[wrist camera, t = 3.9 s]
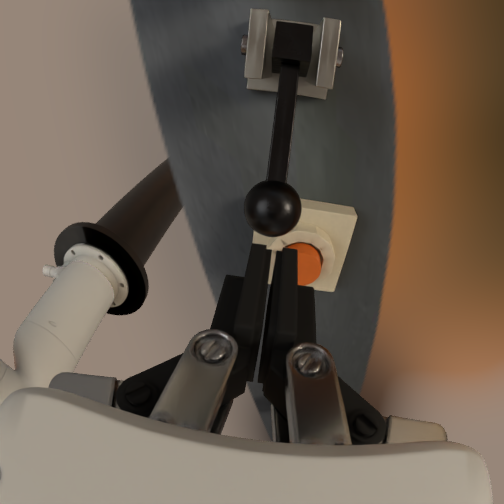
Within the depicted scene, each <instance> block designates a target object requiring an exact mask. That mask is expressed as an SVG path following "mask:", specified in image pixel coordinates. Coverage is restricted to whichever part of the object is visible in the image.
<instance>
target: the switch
mask: <svg viewBox="0 0 504 504" xmlns="http://www.w3.org/2000/svg"><path fill="white" fill-rule="evenodd" d="M313 29H314V26H312V25H305V24H299V23H291V22H282V21H277V22H276V27H275V35H274V42H273V49H272V73H277V74H280V76H279V84H278V92H277V99H276V107H275V115H274V123H273V131H272V139H271V147H270V155H269V162H268V170H267V178H266V180H265V181H262V182H260V183H258V184H256V185H255V186H254V187H253V188H252V189H251V190H250V191H249V193H248V194H247V196H246V199H245V202H244V214H245V218H246V220H247V222H248V224H249V225H250V227H251V228H252V229H253V230H254V231H256V232H257V233H259V234H261V235H263V236H267V237H279V236H283V235H285V234H287V233H289V232H290V231H291V230H293V229H294V228H295V226H296V225H297V224H298V222H299V220H300V217H301V213H302V205H301V200H300V197H299V195H298V193H297V192H296V191H295V189H294V188H293V187H292V186H290V185H289V184H287V175H288V167H289V159H290V151H291V143H292V134H293V126H294V117H295V108H296V99H297V90H298V81H299V76H300V77H307V74H308V70H309V67H310V63H311V55H312V42H313Z"/></svg>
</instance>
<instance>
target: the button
mask: <svg viewBox="0 0 504 504" xmlns="http://www.w3.org/2000/svg"><path fill="white" fill-rule="evenodd" d="M287 248H291V249H297V250H298V285H302V286H305V285H308V284H311V283H313V282H314V281H315V280H316V279H317V278H318V277H319V275H320V273H321V263H320V256H319V253H318V251H317V250H316V249H315V248H314V247H312V246H311V245H309V244H305V243H296V244H292V245H290V246H288V247H287Z"/></svg>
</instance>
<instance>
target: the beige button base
mask: <svg viewBox="0 0 504 504" xmlns="http://www.w3.org/2000/svg"><path fill="white" fill-rule="evenodd" d="M300 200H301V205H302V213H301V217H300V220H299V222H298V224H297V225H296V226H295V228H294V229H293V230H291V231H290V232H289V233H287V234H285V235H283V236H279V237H267V236H263V235H261V234H259V233H257V232H256V231H254V234H253V243H256V244H263V245H267V247H266V249H271V250H272V254H271V263H270V271H269V280H268V284H271V281H272V275H273V269H274V263H275V257H276V251H277V250H278V251H282V249H283V247H284V248H287V247H288V246H290V245H292V244H296V243H305V244H309V245H311V246H312V247H314V248H315V249H316V250H317V251H318V253H319V256H320V263H321V273H320V275H319V277H318V278H317V279H316V280H315V281H314V282H313V283H311V284H308V285H305V286H310V287H313V288H314V290H321V291H329V292H334V290H335V287H336V284H337V281H338V278H339V275H340V272H341V269H342V266H343V263H344V260H345V257H346V253H347V250H348V247H349V244H350V240H351V237H352V234H353V230H354V227H355V224H356V220H357V215H356V212H355V210H354V208H353V207H349V206H343V205H337V204H331V203H325V202H319V201H313V200H306V199H300Z"/></svg>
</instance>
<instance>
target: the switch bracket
mask: <svg viewBox="0 0 504 504" xmlns="http://www.w3.org/2000/svg"><path fill="white" fill-rule="evenodd" d="M277 21H282V22H291V23H299V24H305V25H312V26H314V29H313V42H312V55H311V63H310V67H309V70H308V74H307V77H300V76H299V81H298V90H297V95H302V96H308V97H314V98H320V99H326V96H327V89H333V83H334V76H335V68H336V67H338V68H339V67H340V66H341V63H342V59H343V48H342V47H338V45H339V37H340V28H341V21H340V20H336V19H331V18H326V17H324V18H323V20H322V21H321V23H320V24H319V25H317V24H311V23H305V22H297V21H290V20H281V19H271V16H270V13H269V10H266V9H251V11H250V21H249V30H248V35H243V37H242V42H241V53H242V55H246V61H245V72H244V78H248V79H247V89H252V90H262V91H272V92H278V84H279V76H280V74H277V73H272V49H273V42H274V35H275V27H276V22H277Z"/></svg>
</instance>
